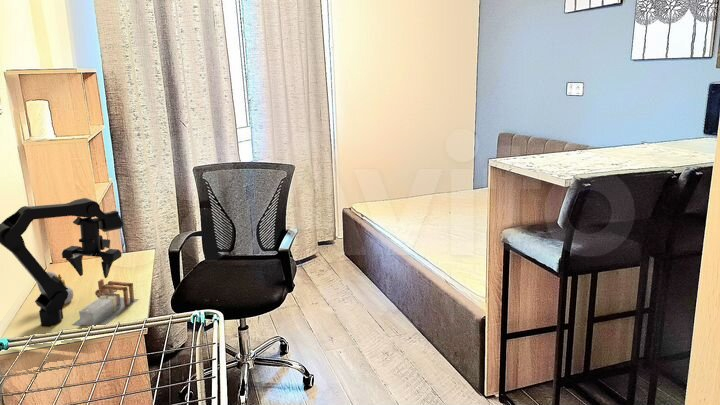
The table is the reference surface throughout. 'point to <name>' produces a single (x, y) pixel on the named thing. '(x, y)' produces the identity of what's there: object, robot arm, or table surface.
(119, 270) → the table surface
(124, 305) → the board
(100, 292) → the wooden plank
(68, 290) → the white faceted ball
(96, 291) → the mineral rock
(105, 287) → the collar
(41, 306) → the robot arm
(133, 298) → the angle bracket
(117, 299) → the grey long block
